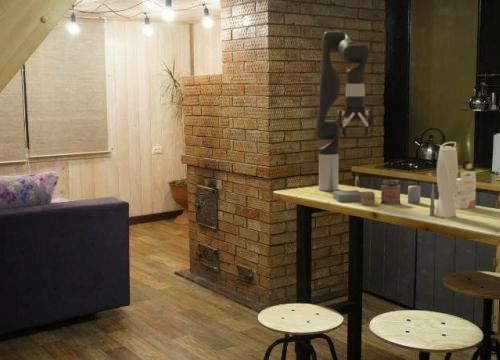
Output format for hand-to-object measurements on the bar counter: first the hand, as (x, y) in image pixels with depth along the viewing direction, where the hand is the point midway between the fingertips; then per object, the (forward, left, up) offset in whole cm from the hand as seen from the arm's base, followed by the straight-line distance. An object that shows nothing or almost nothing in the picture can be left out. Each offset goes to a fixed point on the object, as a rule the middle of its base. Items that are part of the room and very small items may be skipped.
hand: (354, 136), depth 246 cm
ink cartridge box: (+7, +43, -29) cm, 52 cm away
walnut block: (-5, +7, -29) cm, 30 cm away
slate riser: (-17, +2, -29) cm, 33 cm away
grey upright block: (-5, +27, -29) cm, 40 cm away
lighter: (-5, +17, -29) cm, 34 cm away
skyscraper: (+23, +29, -29) cm, 47 cm away
